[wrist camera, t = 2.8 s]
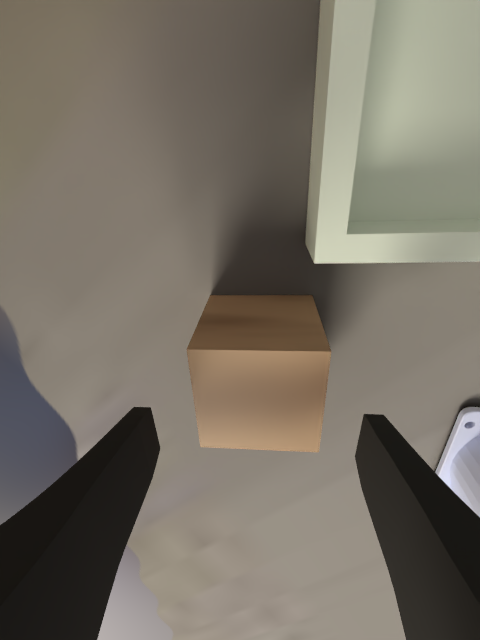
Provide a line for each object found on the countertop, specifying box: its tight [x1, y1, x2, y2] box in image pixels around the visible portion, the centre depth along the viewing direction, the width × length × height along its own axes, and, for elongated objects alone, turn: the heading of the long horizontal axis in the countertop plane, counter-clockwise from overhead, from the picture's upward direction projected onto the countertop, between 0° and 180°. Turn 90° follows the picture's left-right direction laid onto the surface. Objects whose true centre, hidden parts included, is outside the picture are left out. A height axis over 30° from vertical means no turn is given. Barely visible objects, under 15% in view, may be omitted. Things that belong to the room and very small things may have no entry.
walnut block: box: [187, 295, 331, 452], centre depth 14 cm, size 5×5×5 cm
